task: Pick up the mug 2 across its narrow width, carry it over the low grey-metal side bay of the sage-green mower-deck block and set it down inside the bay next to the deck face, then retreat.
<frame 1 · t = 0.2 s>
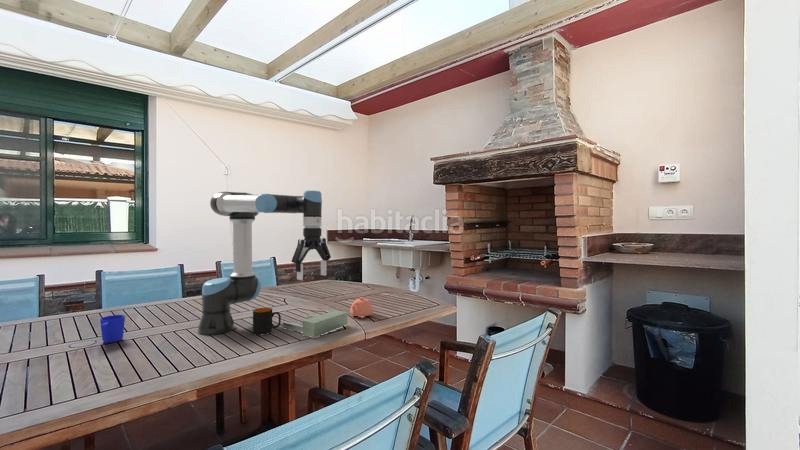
hand: (312, 277, 155), 28 cm above the table, fingers open, 13 cm apart
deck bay: (320, 329, 171), on the table
mug: (110, 342, 152), on the table
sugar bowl: (360, 317, 195), on the table
mug 2: (266, 332, 168), on the table
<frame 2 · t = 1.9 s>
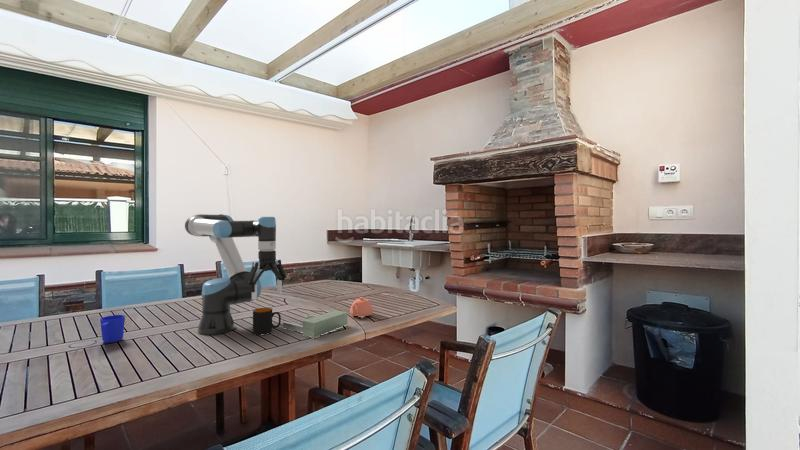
hand: (267, 296, 167), 16 cm above the table, fingers open, 13 cm apart
nothing on the table moved.
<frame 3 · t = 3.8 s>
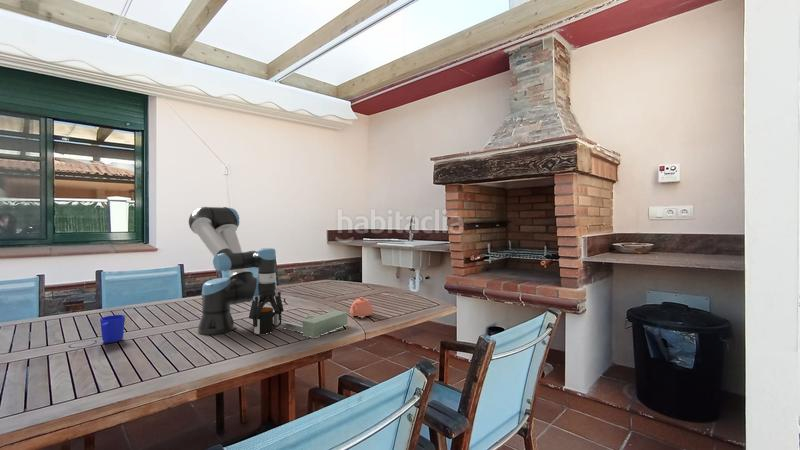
hand: (266, 330, 167), 1 cm above the table, fingers closed on mug 2, 10 cm apart
mug 2: (267, 332, 168), on the table, touching gripper
everything else where it was.
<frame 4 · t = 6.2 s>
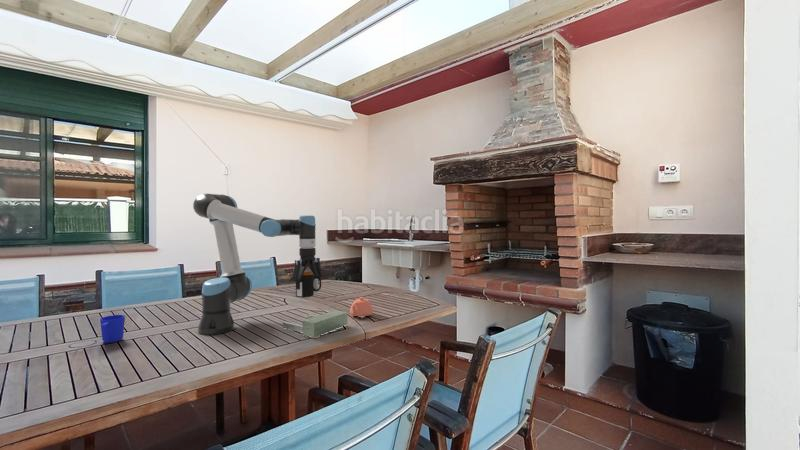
hand: (307, 294, 175), 16 cm above the table, fingers closed on mug 2, 10 cm apart
mug 2: (308, 295, 175), point 15 cm above the table, touching gripper
everything else where it was.
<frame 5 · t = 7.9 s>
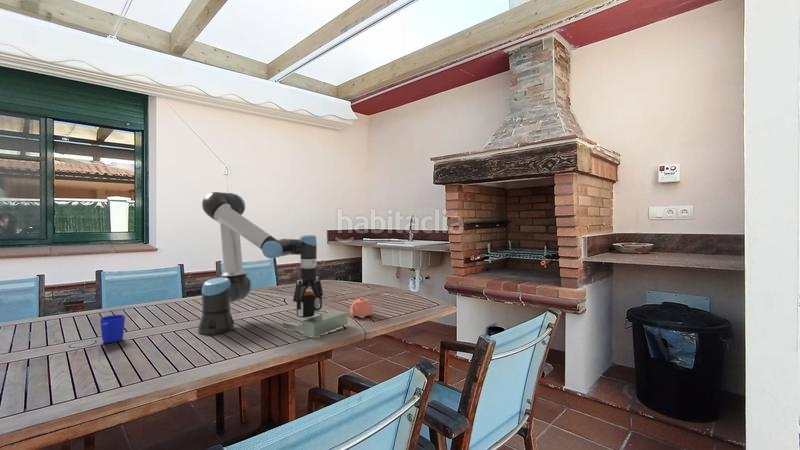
hand: (308, 313, 175), 7 cm above the table, fingers closed on mug 2, 10 cm apart
mug 2: (309, 314, 176), point 6 cm above the table, touching gripper
everything else where it was.
when the fingers open (4 cm above the table, at t = 9.0 s): mug 2 drops 3 cm, on the table.
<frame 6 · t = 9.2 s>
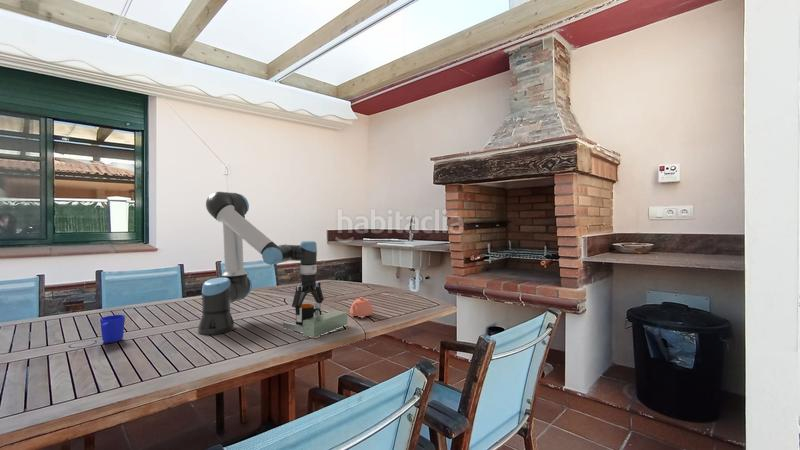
hand: (308, 318, 176), 4 cm above the table, fingers open, 11 cm apart
mug 2: (308, 327, 176), on the table, touching gripper
everything else where it was.
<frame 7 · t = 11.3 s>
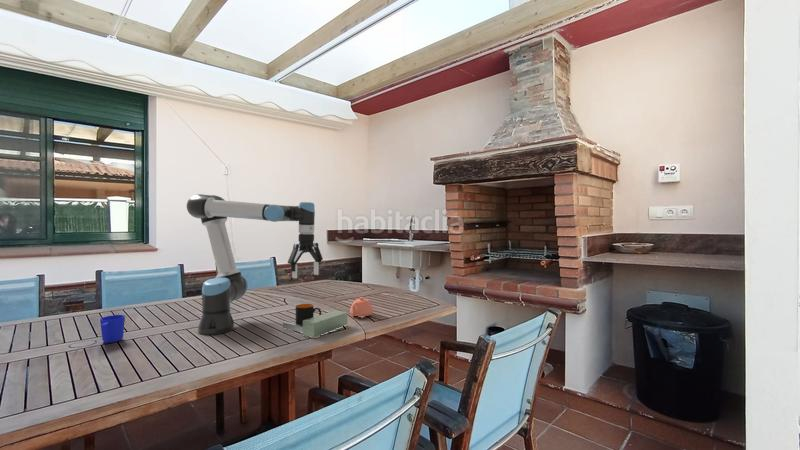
hand: (305, 276, 180), 24 cm above the table, fingers open, 13 cm apart
mug 2: (308, 327, 176), on the table
everything else where it was.
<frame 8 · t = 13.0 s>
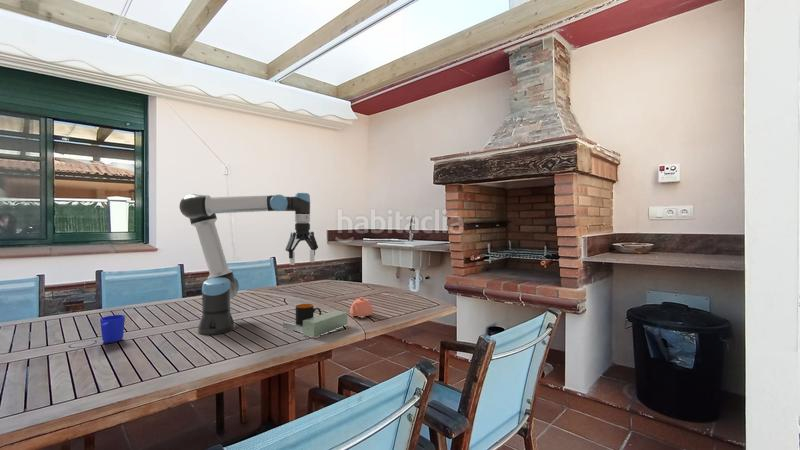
hand: (302, 263, 190), 29 cm above the table, fingers open, 13 cm apart
nothing on the table moved.
at the end: mug 2 inside the target area on the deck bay (0.8 cm from its centre), point 0.0 cm above the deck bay's base; mug 2 tilted 0°; the gripper is holding nothing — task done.
